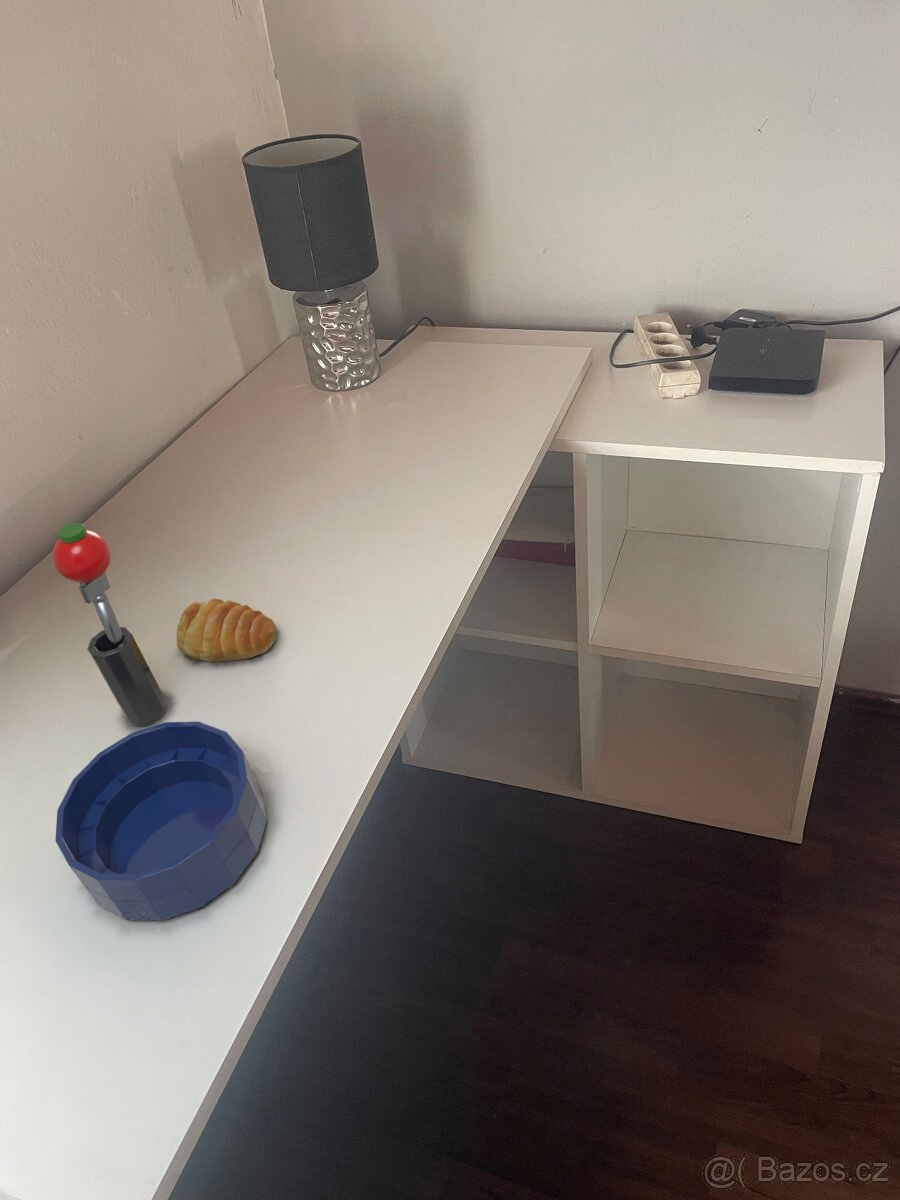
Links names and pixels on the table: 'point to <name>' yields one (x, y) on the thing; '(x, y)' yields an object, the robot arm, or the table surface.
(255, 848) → the bowl
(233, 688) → the table surface
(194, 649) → the pastry
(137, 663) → the cup
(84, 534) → the baster
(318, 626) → the table surface
